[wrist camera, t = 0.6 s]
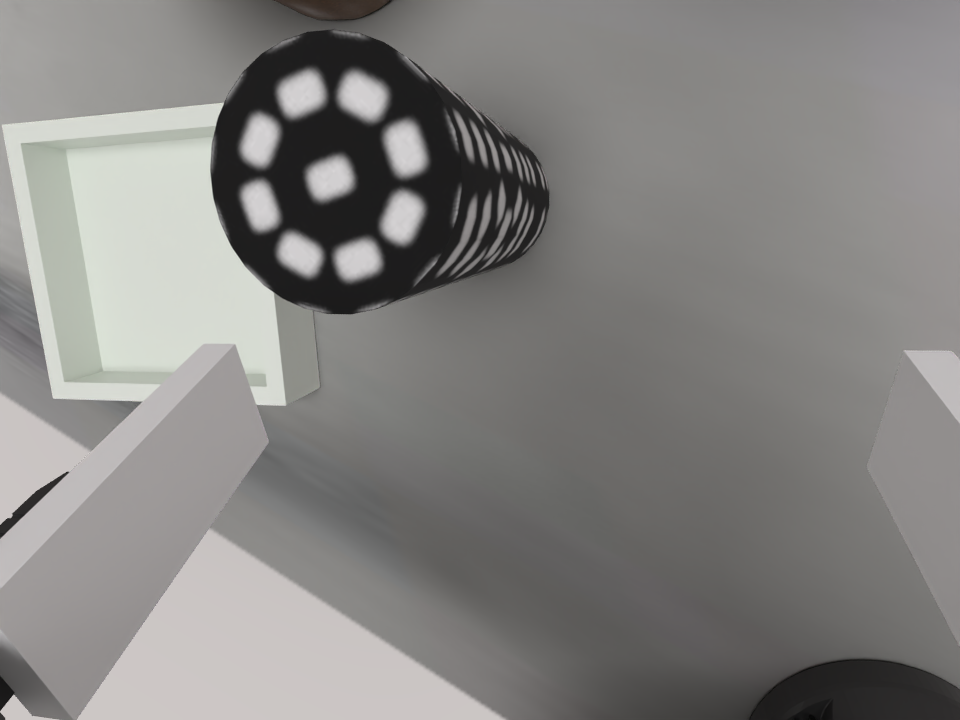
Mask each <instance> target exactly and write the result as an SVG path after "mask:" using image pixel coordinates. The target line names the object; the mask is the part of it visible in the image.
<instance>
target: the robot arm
mask: <svg viewBox="0 0 960 720" xmlns="http://www.w3.org/2000/svg"><path fill="white" fill-rule="evenodd" d="M268 443H269V440H268V437H267V434H266V432H265V429H264V426H263V423H262V420H261V417H260V414H259V411H258V408H257V406H256V403H255V400H254V397H253V394H252V391H251V388H250V385H249V382H248V379H247V377H246V374H245V371H244V368H243V365H242V362H241V359H240V356H239V353H238V351H237V348H236V345H235V344H203V345H202V346H200V347H199V348H198V349H197V350H196V351H195V352H194V353H193V354H192V355H191V356H190V357H189V358H188V359H187V360H186V361H185V362H184V363H183V364H182V365H181V366H180V367H179V368H178V369H177V370H175V371H174V372H173V373H172V374H171V375H170V376H169V377H168V378H167V379H166V380H165V381H164V382H163V383H162V384H161V385H160V386H159V387H158V388H157V389H156V390H155V391H154V392H153V393H152V394H151V395H149V396H148V397H147V398H146V399H145V400H144V401H143V402H142V403H141V404H140V405H139V406H138V407H137V408H136V409H135V410H134V411H133V412H132V413H131V414H130V415H129V416H128V417H127V418H126V419H124V420H123V421H122V422H121V423H120V424H119V425H118V426H117V427H116V428H115V429H114V430H113V431H112V432H111V433H110V434H109V435H108V436H107V437H106V438H105V439H104V440H103V441H102V442H101V443H99V444H98V445H97V446H96V447H95V448H94V449H93V450H92V451H91V452H90V453H89V454H88V455H87V456H86V457H85V458H84V459H83V460H82V461H81V462H80V463H79V464H78V465H77V466H76V467H75V468H74V469H73V470H71V471H70V472H66V473H64V474H63V475H61V476H60V477H58V478H56V479H55V480H53V481H52V482H50V483H48V484H47V485H45V486H44V487H42V488H40V489H39V490H37V491H36V492H35V493H34V494H33V495H32V496H31V497H30V498H28V499H27V500H26V501H25V502H24V503H23V504H22V505H21V506H20V507H19V508H18V509H17V510H16V511H15V512H14V513H13V516H12V518H7V519H6V520H5V521H4V522H3V523H2V524H1V525H0V711H1V709H2V708H3V707H4V706H5V704H6V703H7V702H8V701H9V699H10V698H11V697H12V696H13V694H14V695H15V696H16V697H17V698H18V699H19V701H20V702H21V703H22V704H23V705H24V706H25V708H26V709H27V710H28V711H29V712H30V713H31V714H32V716H39V717H46V718H53V719H59V720H77V718H78V716H79V715H80V714H81V712H82V711H83V709H84V708H85V707H86V705H87V704H88V702H89V701H90V699H91V698H92V696H93V695H94V694H95V692H96V691H97V689H98V688H99V686H100V685H101V684H102V682H103V681H104V679H105V678H106V676H107V675H108V673H109V672H110V671H111V669H112V668H113V666H114V665H115V663H116V662H117V660H118V659H119V658H120V656H121V655H122V653H123V651H124V650H125V649H126V647H127V646H128V644H129V643H130V642H131V640H132V639H133V637H134V636H135V634H136V633H137V632H138V630H139V629H140V627H141V626H142V624H143V623H144V622H145V620H146V619H147V617H148V616H149V614H150V613H151V611H152V610H153V608H154V607H155V606H156V604H157V603H158V601H159V600H160V598H161V597H162V595H163V594H164V593H165V591H166V590H167V588H168V587H169V585H170V584H171V583H172V581H173V580H174V578H175V577H176V575H177V574H178V572H179V571H180V569H181V568H182V567H183V565H184V564H185V562H186V561H187V560H188V558H189V556H190V555H191V554H192V552H193V551H194V549H195V548H196V546H197V545H198V544H199V542H200V541H201V539H202V538H203V536H204V535H205V534H206V532H207V531H208V529H209V528H210V526H211V525H212V523H213V522H214V521H215V519H216V518H217V516H218V515H219V513H220V512H221V510H222V509H223V508H224V506H225V505H226V503H227V502H228V500H229V499H230V497H231V496H232V495H233V493H234V492H235V490H236V489H237V487H238V486H239V485H240V483H241V482H242V480H243V479H244V477H245V476H246V474H247V473H248V472H249V470H250V469H251V467H252V466H253V464H254V463H255V461H256V460H257V459H258V457H259V456H260V454H261V453H262V451H263V450H264V448H265V447H266V446H267V444H268ZM867 469H868V471H869V473H870V475H871V477H872V479H873V481H874V483H875V484H876V486H877V488H878V490H879V492H880V494H881V496H882V498H883V500H884V502H885V504H886V506H887V508H888V510H889V512H890V513H891V515H892V517H893V519H894V521H895V523H896V525H897V527H898V529H899V531H900V533H901V535H902V537H903V539H904V541H905V542H906V544H907V546H908V548H909V550H910V552H911V554H912V556H913V558H914V560H915V562H916V564H917V566H918V568H919V570H920V572H921V573H922V575H923V577H924V579H925V581H926V583H927V585H928V587H929V589H930V591H931V593H932V595H933V597H934V599H935V601H936V602H937V604H938V606H939V608H940V610H941V612H942V614H943V616H944V618H945V620H946V622H947V624H948V626H949V628H950V630H951V631H952V633H953V635H954V637H955V639H956V641H957V643H958V645H959V647H960V360H959V358H958V357H957V356H956V355H955V354H954V353H953V352H952V351H907V350H904V351H903V354H902V357H901V360H900V363H899V366H898V369H897V373H896V376H895V379H894V382H893V385H892V388H891V391H890V395H889V398H888V401H887V404H886V407H885V410H884V413H883V417H882V420H881V423H880V426H879V429H878V432H877V435H876V439H875V442H874V445H873V448H872V451H871V454H870V457H869V460H868V464H867ZM0 720H5V717H4V716H3V715H2V714H1V713H0ZM750 720H960V690H959V689H957V688H956V687H954V686H953V685H951V684H949V683H947V682H946V681H944V680H942V679H940V678H938V677H936V676H933V675H931V674H929V673H926V672H923V671H921V670H918V669H915V668H911V667H907V666H904V665H899V664H894V663H888V662H881V661H863V660H859V661H844V662H836V663H830V664H826V665H821V666H818V667H815V668H811V669H809V670H806V671H803V672H801V673H799V674H797V675H795V676H793V677H791V678H789V679H787V680H786V681H784V682H783V683H781V684H780V685H778V686H777V687H776V688H774V689H773V690H772V691H771V692H770V693H769V694H768V695H767V696H766V697H765V698H764V699H763V700H762V701H761V702H760V704H759V705H758V706H757V708H756V709H755V711H754V712H753V714H752V716H751V718H750Z"/></svg>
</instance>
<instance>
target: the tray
mask: <svg viewBox="0 0 960 720" xmlns="http://www.w3.org/2000/svg"><path fill="white" fill-rule="evenodd" d="M223 105H224V103H217V104H207V105H197V106H187V107H177V108H167V109H157V110H147V111H137V112H127V113H117V114H107V115H97V116H87V117H77V118H67V119H57V120H47V121H37V122H27V123H17V124H7V125H2V129H3V134H4V139H5V145H6V150H7V155H8V161H9V166H10V171H11V177H12V182H13V187H14V193H15V198H16V203H17V209H18V214H19V219H20V225H21V230H22V235H23V241H24V246H25V251H26V257H27V262H28V267H29V273H30V278H31V283H32V288H33V294H34V299H35V304H36V310H37V315H38V320H39V326H40V331H41V336H42V342H43V347H44V352H45V358H46V363H47V368H48V374H49V379H50V384H51V390H52V395H53V399H83V400H116V401H144V400H145V399H146V398H147V397H148V396H149V395H151V394H152V393H153V392H154V391H155V390H156V389H157V388H158V387H159V386H160V385H161V384H162V383H163V382H164V381H165V380H166V379H167V378H168V377H169V376H170V375H171V374H172V373H173V372H174V371H175V370H177V369H178V368H179V367H180V366H181V365H182V364H183V363H184V362H185V361H186V360H187V359H188V358H189V357H190V356H191V355H192V354H193V353H194V352H195V351H196V350H197V349H198V348H199V347H200V346H202V345H203V344H235V345H236V348H237V351H238V353H239V356H240V359H241V362H242V365H243V368H244V371H245V374H246V377H247V379H248V382H249V385H250V388H251V391H252V394H253V397H254V400H255V403H256V405H281V406H286V405H288V404H290V403H292V402H294V401H296V400H298V399H300V398H301V397H303V396H305V395H307V394H309V393H311V392H313V391H315V390H317V389H319V388H320V380H319V369H318V359H317V348H316V338H315V327H314V317H313V310H308V309H304V308H302V307H300V306H298V305H295V304H293V303H291V302H289V301H286V300H284V299H282V298H281V297H279V296H278V295H277V294H275V293H274V292H272V291H271V290H270V289H268V288H267V287H265V286H264V285H263V284H262V283H261V282H260V281H259V280H258V279H257V278H256V277H255V276H254V275H253V274H252V273H251V272H250V271H249V270H248V269H247V268H246V267H245V266H244V264H243V263H242V261H241V260H240V258H239V257H238V256H237V254H236V253H235V251H234V250H233V248H232V247H231V245H230V243H229V241H228V239H227V236H226V234H225V232H224V230H223V228H222V226H221V223H220V221H219V217H218V213H217V210H216V206H215V203H214V199H213V193H212V183H211V174H210V164H211V147H212V140H213V136H214V132H215V128H216V123H217V119H218V116H219V114H220V112H221V109H222V107H223Z"/></svg>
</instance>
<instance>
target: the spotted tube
mask: <svg viewBox="0 0 960 720" xmlns="http://www.w3.org/2000/svg"><path fill="white" fill-rule="evenodd" d="M210 174H211V183H212V193H213V199H214V203H215V206H216V210H217V213H218V217H219V221H220V223H221V226H222V228H223V230H224V232H225V234H226V236H227V239H228V241H229V243H230V245H231V247H232V248H233V250H234V251H235V253H236V254H237V256H238V257H239V258H240V260H241V261H242V263H243V264H244V266H245V267H246V268H247V269H248V270H249V271H250V272H251V273H252V274H253V275H254V276H255V277H256V278H257V279H258V280H259V281H260V282H261V283H262V284H263V285H264V286H265V287H267V288H268V289H270V290H271V291H272V292H274V293H275V294H277V295H278V296H279V297H281V298H282V299H284V300H286V301H289V302H291V303H293V304H295V305H298V306H300V307H302V308H304V309H308V310H313V311H317V312H322V313H326V314H355V313H360V312H365V311H370V310H375V309H378V308H381V307H384V306H387V305H389V304H392V303H395V302H398V301H401V300H404V299H407V298H410V297H413V296H416V295H419V294H422V293H425V292H428V291H431V290H434V289H437V288H440V287H443V286H446V285H449V284H452V283H455V282H458V281H461V280H464V279H467V278H470V277H473V276H476V275H479V274H482V273H485V272H488V271H491V270H494V269H496V268H499V267H502V266H505V265H507V264H509V263H511V262H514V261H515V260H516V259H518V258H519V257H521V256H522V255H524V254H525V253H526V252H527V251H528V250H529V249H530V248H531V247H532V246H533V245H534V243H535V241H536V240H537V238H538V237H539V235H540V234H541V232H542V229H543V227H544V224H545V222H546V219H547V214H548V208H549V189H548V184H547V179H546V176H545V173H544V171H543V168H542V166H541V164H540V162H539V161H538V159H537V158H536V156H535V155H534V153H533V152H532V151H531V150H530V149H529V148H528V147H527V146H526V145H525V144H524V143H522V142H521V141H520V140H518V139H517V138H516V137H514V136H513V135H512V134H510V133H509V132H508V131H506V130H505V129H504V128H502V127H501V126H499V125H498V124H497V123H495V122H494V121H493V120H491V119H490V118H489V117H487V116H486V115H485V114H483V113H482V112H480V111H479V110H478V109H476V108H475V107H474V106H472V105H471V104H470V103H468V102H467V101H466V100H464V99H463V98H462V97H460V96H459V95H457V94H456V93H455V92H453V91H452V90H451V89H449V88H448V87H447V86H445V85H444V84H443V83H441V82H440V81H438V80H437V79H436V78H434V77H433V76H432V75H430V74H429V73H428V72H426V71H425V70H424V69H422V68H421V67H420V66H418V65H417V64H415V63H414V62H413V61H411V60H410V59H409V58H407V57H406V56H404V55H403V54H401V53H400V52H398V51H397V50H395V49H394V48H392V47H391V46H389V45H387V44H386V43H384V42H382V41H379V40H376V39H374V38H371V37H369V36H366V35H363V34H361V33H356V32H348V31H341V30H323V31H313V32H306V33H303V34H300V35H298V36H295V37H292V38H289V39H286V40H283V41H282V42H280V43H278V44H277V45H275V46H274V47H272V48H270V49H269V50H267V51H266V52H264V53H262V54H261V55H260V56H259V57H258V58H257V59H256V60H255V61H254V62H253V63H252V64H251V65H250V66H249V67H248V68H247V69H246V70H245V71H244V72H243V73H242V74H241V76H240V77H239V79H238V80H237V82H236V83H235V84H234V86H233V87H232V89H231V90H230V92H229V93H228V95H227V98H226V100H225V102H224V105H223V107H222V109H221V112H220V114H219V116H218V119H217V123H216V128H215V132H214V136H213V140H212V147H211V164H210Z"/></svg>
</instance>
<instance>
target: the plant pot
mask: <svg viewBox="0 0 960 720" xmlns="http://www.w3.org/2000/svg"><path fill="white" fill-rule="evenodd" d="M274 1H277V2H279V3H281V4H283V5H285V6H287V7H289V8H291V9H294V10H296V11H297V12H299V13H302V14H304V15H306V16H309V17H312V18H315V19H320V20H323V19H333V20H338V19H356V18H360V17H362V16H365V15H367V14H370V13H372V12H374V11H376V10H378V9H379V8H381V7H382V6H383V5H385V4H386V3H387V2H389V1H390V0H274Z"/></svg>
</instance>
